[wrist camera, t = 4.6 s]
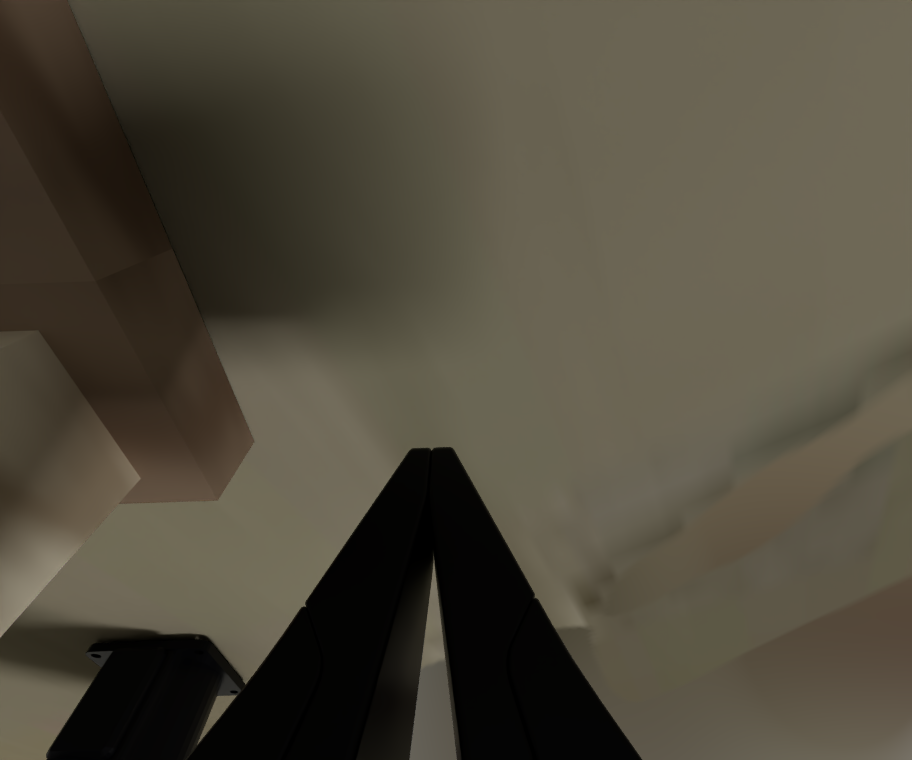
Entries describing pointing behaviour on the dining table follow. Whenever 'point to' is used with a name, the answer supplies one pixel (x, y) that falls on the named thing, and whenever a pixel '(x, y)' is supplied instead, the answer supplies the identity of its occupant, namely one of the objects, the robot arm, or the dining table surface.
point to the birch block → (48, 470)
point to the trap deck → (104, 266)
